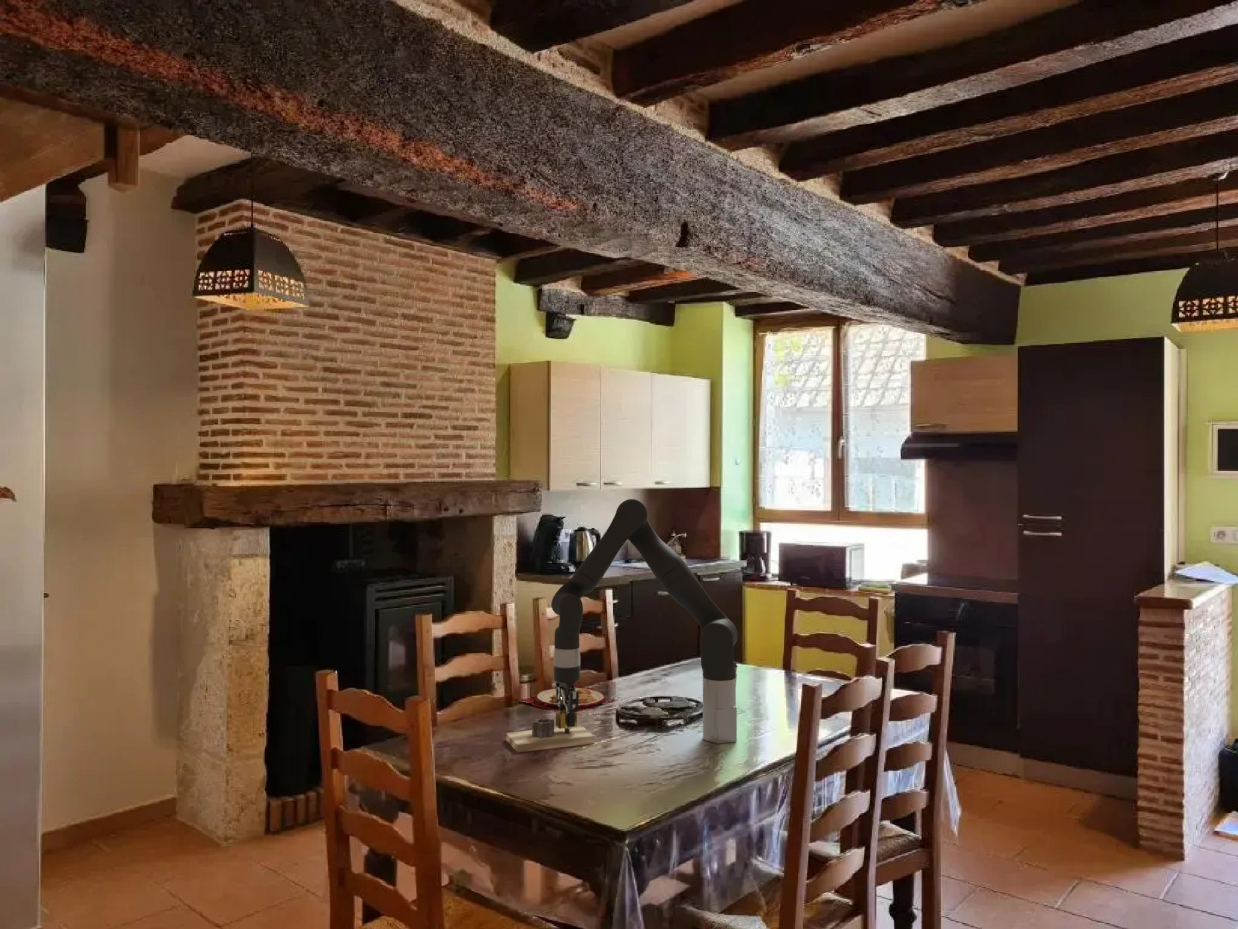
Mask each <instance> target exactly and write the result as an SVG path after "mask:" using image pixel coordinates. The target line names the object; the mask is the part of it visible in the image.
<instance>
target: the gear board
mask: <svg viewBox="0 0 1238 929" xmlns="http://www.w3.org/2000/svg"><path fill="white" fill-rule="evenodd" d="M595 737H596V736H595V735H594V734H593V733H592V732H590V731H589V730H587V729H586V728H585V727H584V726H583V725H582V724H578V727H574V728H572V729H568V728H566V729H564V728H562V729H559V728H558V726H555V720H554V719H550V718H548V717H544V718H534V719H533V721H531V729H530V730H522V731H520V730H519V731H514V732H512V731H511V732H506V733H505V738H506V739H505V740H506V742H507V743H508V744H509V745H510V746H511V747H512V748H513V750H515V751H516V753H524V752H531V751H534V752H535V751H539V750H540V751H541V750H549V749H558V748H566V747H567V748H568V747H575V746H584V745H592V744H596V742H595V739H596V738H595Z"/></svg>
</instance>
